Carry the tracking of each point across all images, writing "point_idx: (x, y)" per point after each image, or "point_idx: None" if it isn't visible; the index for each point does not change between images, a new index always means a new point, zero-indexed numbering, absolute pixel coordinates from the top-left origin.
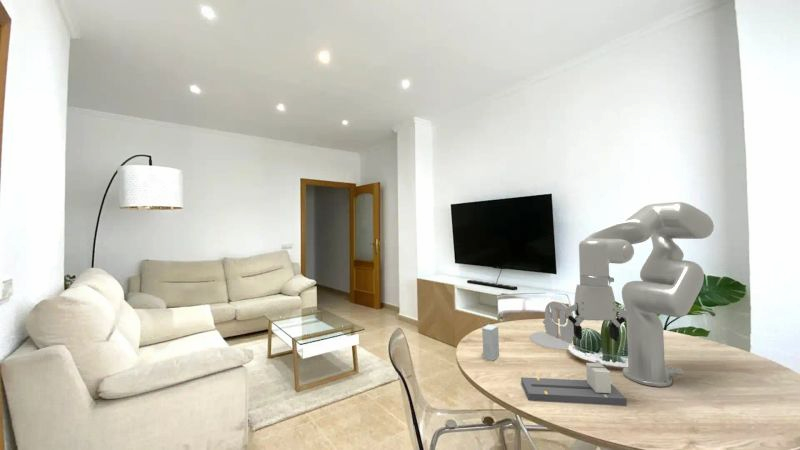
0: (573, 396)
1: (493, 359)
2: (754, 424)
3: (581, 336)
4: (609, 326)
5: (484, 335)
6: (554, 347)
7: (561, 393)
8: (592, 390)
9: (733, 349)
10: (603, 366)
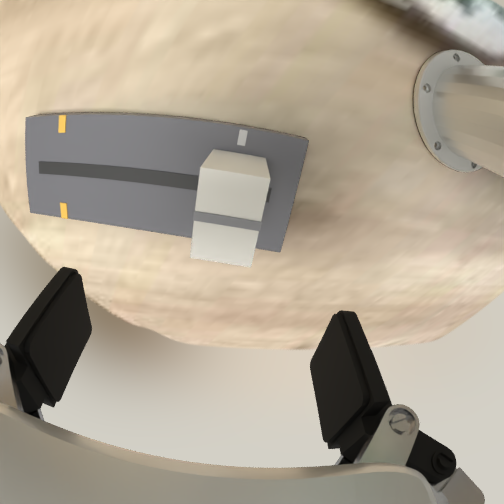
0: (129, 227)
1: None
2: (449, 307)
3: (82, 345)
4: (359, 386)
5: None
6: None
7: (100, 213)
8: None
9: None
10: (260, 214)
